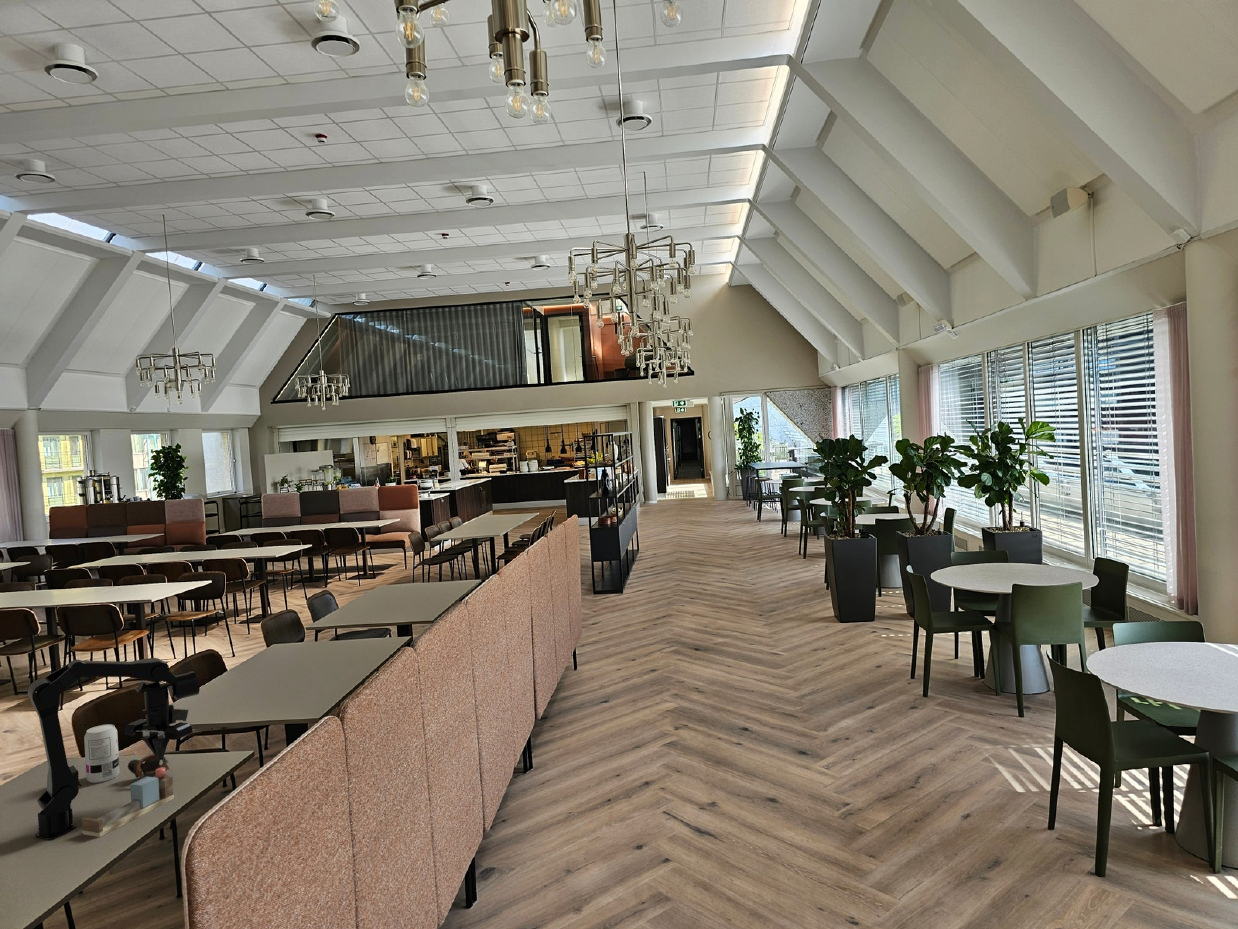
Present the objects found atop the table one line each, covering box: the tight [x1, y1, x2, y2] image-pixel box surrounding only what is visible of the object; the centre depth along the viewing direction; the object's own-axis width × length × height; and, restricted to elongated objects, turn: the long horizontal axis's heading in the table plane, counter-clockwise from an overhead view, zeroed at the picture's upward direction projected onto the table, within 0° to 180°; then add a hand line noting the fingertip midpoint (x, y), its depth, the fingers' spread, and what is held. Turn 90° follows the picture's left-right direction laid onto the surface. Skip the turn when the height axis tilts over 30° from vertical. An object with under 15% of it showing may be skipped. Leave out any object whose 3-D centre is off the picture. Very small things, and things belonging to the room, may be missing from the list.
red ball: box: [155, 767, 167, 778], centre depth 215 cm, size 2×2×2 cm
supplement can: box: [83, 723, 120, 784], centre depth 231 cm, size 8×8×15 cm
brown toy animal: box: [127, 753, 170, 780], centre depth 229 cm, size 12×10×8 cm
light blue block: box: [129, 777, 159, 808], centre depth 210 cm, size 5×4×6 cm
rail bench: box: [81, 774, 175, 838], centre depth 206 cm, size 23×6×6 cm, turn 163°
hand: (160, 759), depth 215 cm, fingers closed
